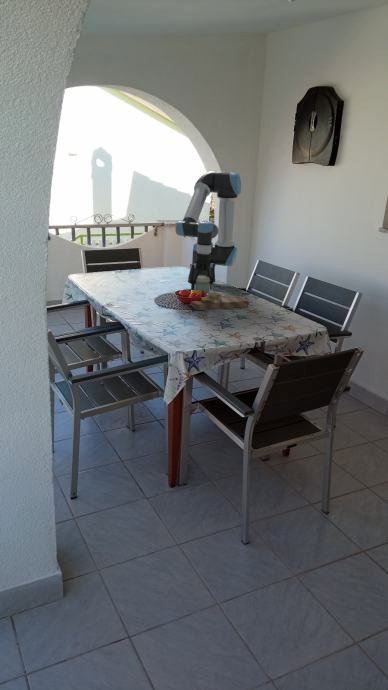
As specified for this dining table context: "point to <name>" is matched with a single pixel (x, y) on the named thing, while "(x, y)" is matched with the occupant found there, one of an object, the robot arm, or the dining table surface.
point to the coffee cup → (202, 283)
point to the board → (220, 303)
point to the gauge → (213, 297)
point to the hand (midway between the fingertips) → (200, 295)
